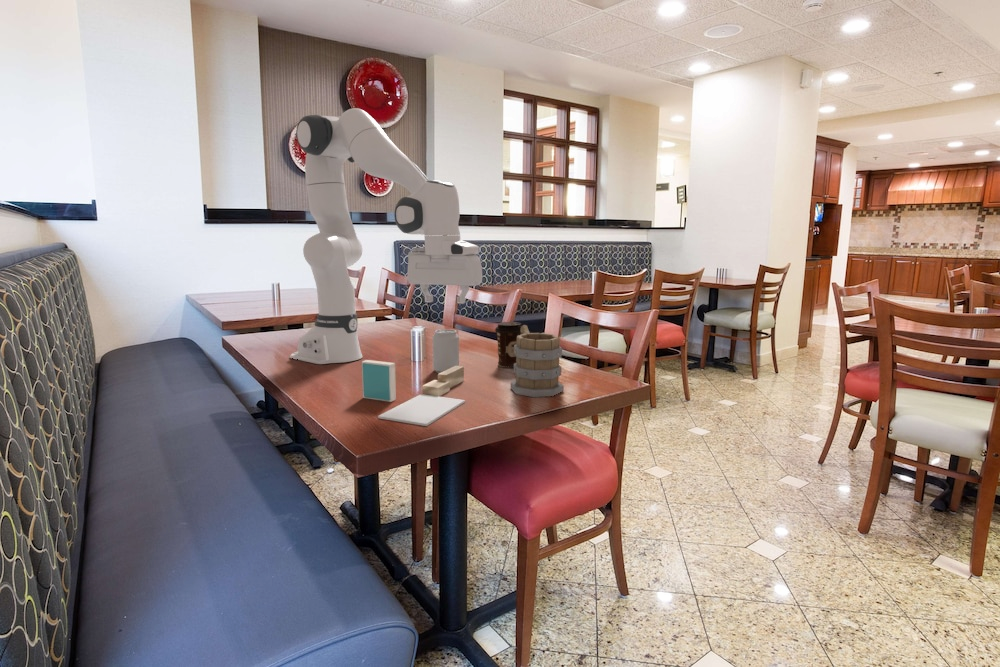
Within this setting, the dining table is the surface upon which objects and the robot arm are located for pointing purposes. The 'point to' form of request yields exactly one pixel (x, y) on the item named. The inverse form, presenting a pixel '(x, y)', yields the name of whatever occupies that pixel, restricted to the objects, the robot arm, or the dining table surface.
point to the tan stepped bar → (444, 381)
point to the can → (445, 349)
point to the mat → (422, 409)
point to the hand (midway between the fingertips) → (444, 302)
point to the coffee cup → (507, 342)
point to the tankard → (537, 364)
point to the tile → (379, 380)
